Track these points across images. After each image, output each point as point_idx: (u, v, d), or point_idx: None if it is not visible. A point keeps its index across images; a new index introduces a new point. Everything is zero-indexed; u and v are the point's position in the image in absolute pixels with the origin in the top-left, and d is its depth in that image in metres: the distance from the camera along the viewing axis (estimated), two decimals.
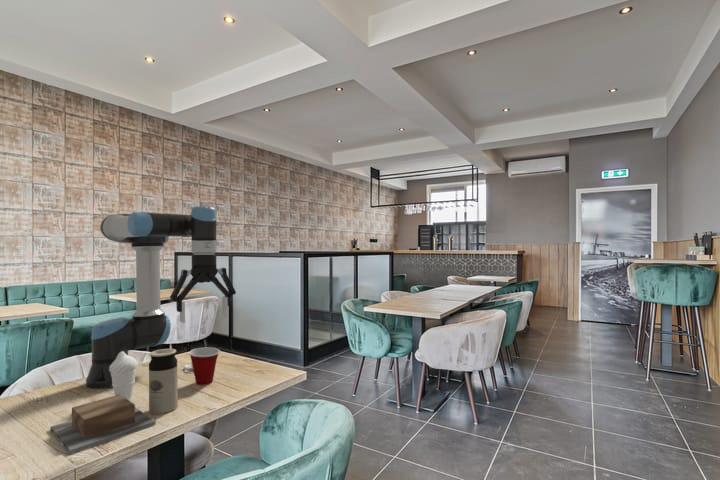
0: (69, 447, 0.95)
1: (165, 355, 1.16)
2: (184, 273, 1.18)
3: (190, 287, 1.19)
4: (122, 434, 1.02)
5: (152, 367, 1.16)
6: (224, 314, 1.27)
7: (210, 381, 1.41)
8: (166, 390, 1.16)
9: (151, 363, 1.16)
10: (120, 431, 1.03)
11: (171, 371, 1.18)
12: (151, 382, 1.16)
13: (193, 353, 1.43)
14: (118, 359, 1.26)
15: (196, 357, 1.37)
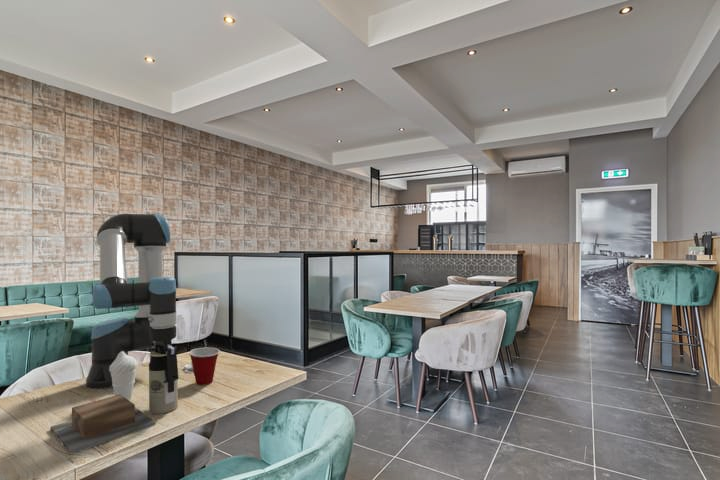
0: (69, 447, 0.95)
1: (165, 355, 1.16)
2: (150, 346, 1.22)
3: None
4: (122, 434, 1.02)
5: (153, 367, 1.16)
6: None
7: (210, 381, 1.41)
8: None
9: (151, 362, 1.16)
10: (120, 431, 1.03)
11: None
12: (151, 382, 1.16)
13: (193, 353, 1.43)
14: (118, 359, 1.26)
15: (196, 357, 1.37)
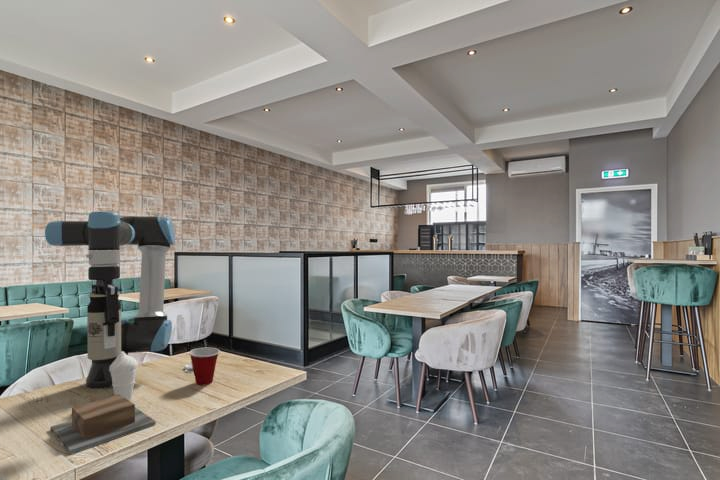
0: (69, 447, 0.95)
1: (105, 296, 1.05)
2: (92, 288, 1.11)
3: None
4: (122, 434, 1.02)
5: (91, 308, 1.04)
6: None
7: (210, 381, 1.41)
8: None
9: (89, 304, 1.05)
10: (120, 431, 1.03)
11: None
12: (89, 325, 1.05)
13: (193, 353, 1.43)
14: (118, 359, 1.26)
15: (196, 357, 1.37)
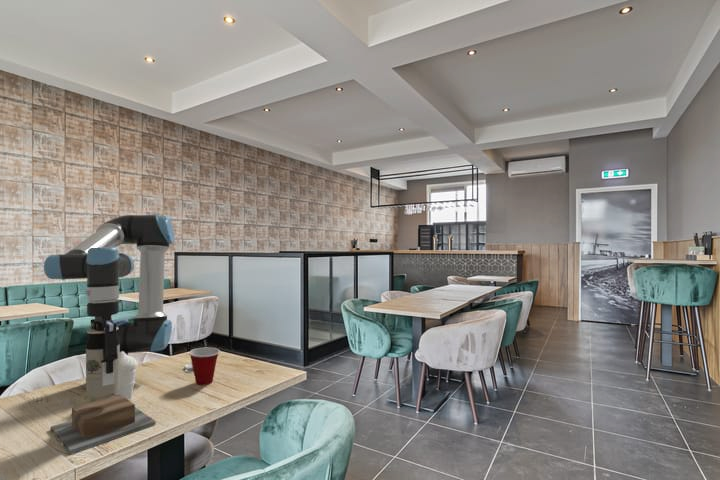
0: (69, 447, 0.95)
1: (103, 332, 1.05)
2: (91, 323, 1.11)
3: None
4: (122, 434, 1.02)
5: (89, 345, 1.04)
6: None
7: (210, 381, 1.41)
8: None
9: (87, 340, 1.05)
10: (120, 431, 1.03)
11: None
12: (87, 362, 1.04)
13: (193, 353, 1.43)
14: None
15: (196, 357, 1.37)
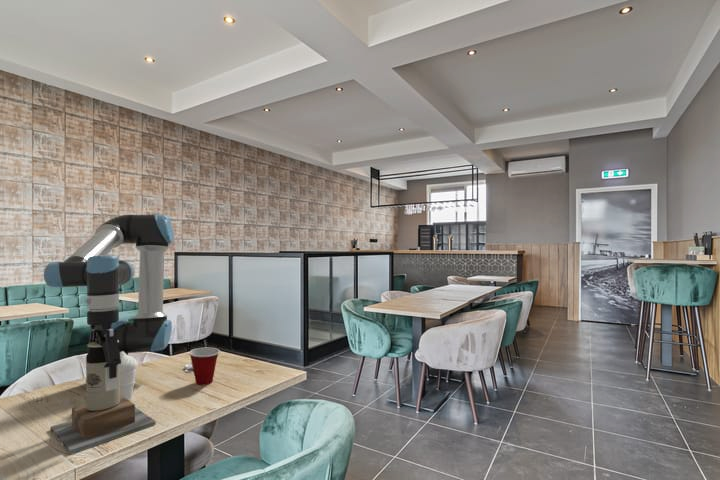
0: (69, 447, 0.95)
1: None
2: None
3: None
4: (122, 434, 1.02)
5: (89, 359, 1.04)
6: None
7: (210, 381, 1.41)
8: (105, 385, 1.05)
9: (88, 354, 1.05)
10: (120, 431, 1.03)
11: None
12: (88, 376, 1.04)
13: (193, 353, 1.43)
14: None
15: (196, 357, 1.37)
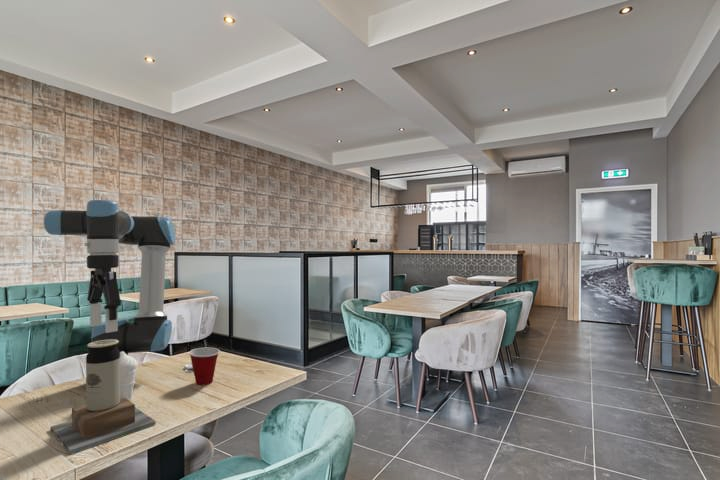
0: (69, 447, 0.95)
1: (104, 346, 1.05)
2: None
3: (93, 290, 1.10)
4: (122, 434, 1.02)
5: (89, 359, 1.04)
6: None
7: (210, 381, 1.41)
8: (105, 385, 1.05)
9: (88, 354, 1.05)
10: (120, 431, 1.03)
11: (111, 364, 1.06)
12: (88, 376, 1.04)
13: (193, 353, 1.43)
14: None
15: (196, 357, 1.37)
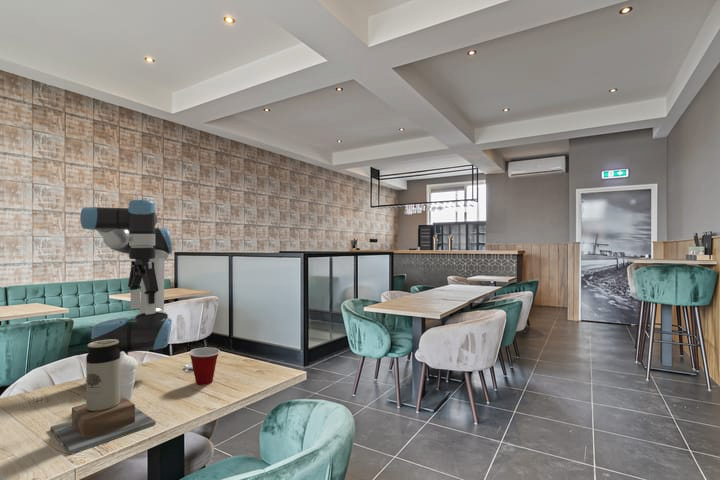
0: (69, 447, 0.95)
1: (104, 346, 1.05)
2: (131, 264, 1.28)
3: (133, 278, 1.27)
4: (122, 434, 1.02)
5: (89, 359, 1.04)
6: None
7: (210, 381, 1.41)
8: (105, 385, 1.05)
9: (88, 354, 1.05)
10: (120, 431, 1.03)
11: (112, 364, 1.06)
12: (88, 376, 1.04)
13: (193, 353, 1.43)
14: None
15: (196, 357, 1.37)
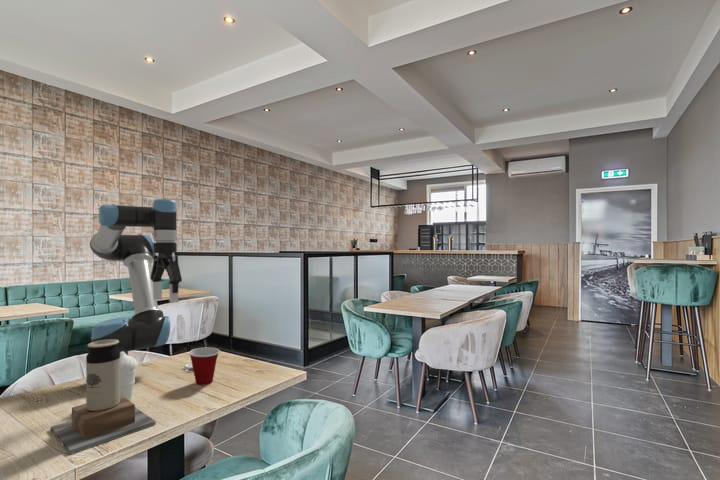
0: (69, 447, 0.95)
1: (104, 346, 1.05)
2: (154, 258, 1.40)
3: (156, 270, 1.39)
4: (122, 434, 1.02)
5: (89, 359, 1.04)
6: None
7: (210, 381, 1.41)
8: (105, 385, 1.05)
9: (88, 354, 1.05)
10: (120, 431, 1.03)
11: (112, 364, 1.06)
12: (88, 376, 1.04)
13: (193, 353, 1.43)
14: None
15: (196, 357, 1.37)
